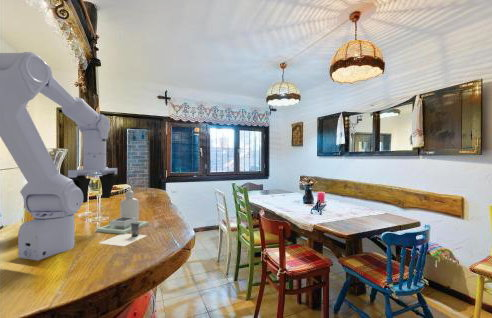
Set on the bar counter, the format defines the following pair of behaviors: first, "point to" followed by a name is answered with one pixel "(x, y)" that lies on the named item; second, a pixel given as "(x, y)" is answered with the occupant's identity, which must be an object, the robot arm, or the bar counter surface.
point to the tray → (118, 231)
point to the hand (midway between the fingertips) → (95, 200)
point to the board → (122, 240)
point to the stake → (135, 229)
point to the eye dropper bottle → (130, 205)
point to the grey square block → (122, 223)
